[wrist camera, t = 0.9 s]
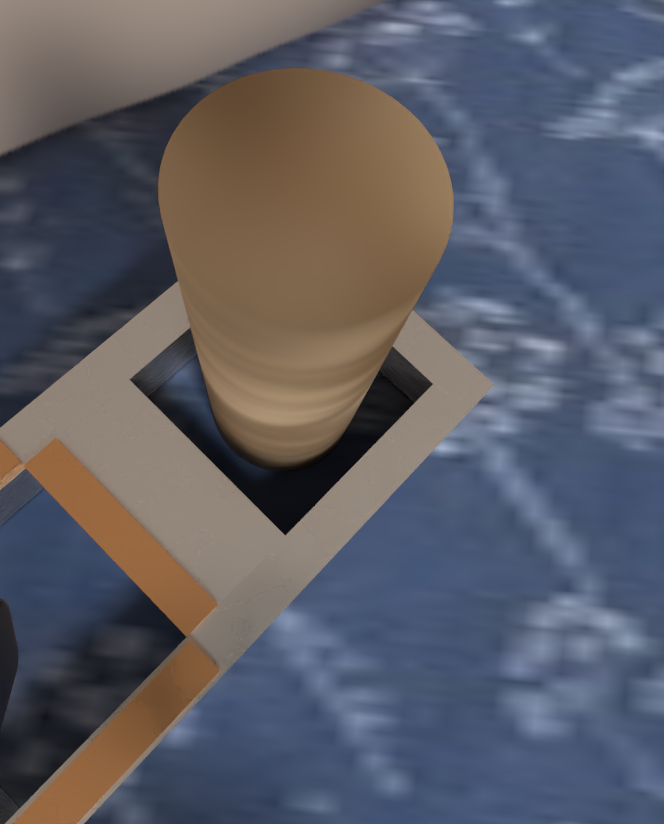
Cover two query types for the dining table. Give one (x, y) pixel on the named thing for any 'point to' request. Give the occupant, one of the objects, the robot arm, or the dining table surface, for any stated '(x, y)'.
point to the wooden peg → (299, 249)
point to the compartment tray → (194, 519)
